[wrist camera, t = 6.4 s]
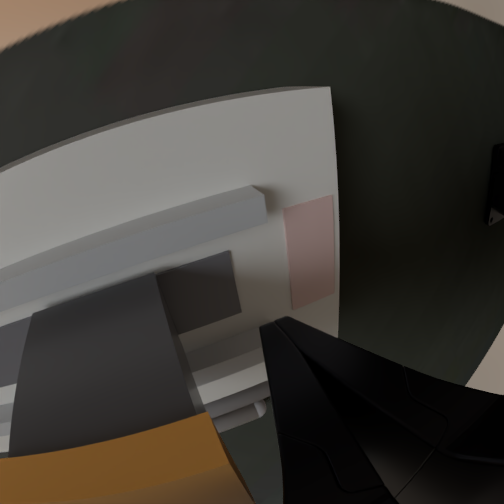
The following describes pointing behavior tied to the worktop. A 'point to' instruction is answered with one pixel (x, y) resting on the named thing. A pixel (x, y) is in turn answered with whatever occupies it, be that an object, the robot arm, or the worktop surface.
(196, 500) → the breaker lever
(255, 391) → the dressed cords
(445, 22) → the worktop surface
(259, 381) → the breaker panel
